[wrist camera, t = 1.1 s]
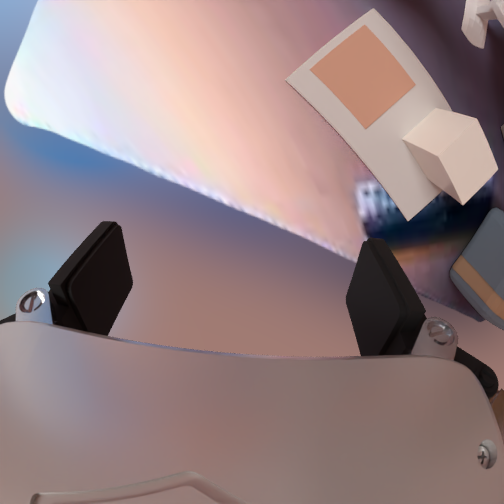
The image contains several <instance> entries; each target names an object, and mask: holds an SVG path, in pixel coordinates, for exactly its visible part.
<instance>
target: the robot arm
mask: <svg viewBox="0 0 504 504" xmlns="http://www.w3.org/2000/svg"><path fill="white" fill-rule="evenodd" d="M48 284H49V287H50V291H49V292H47V291H46V290H45V289H43V288H35V289H31V290H30V291H27V292H26V293H25V294H23V295H22V296H21V297H20V299H19V300H18V302H17V304H16V314H13V315H11V316H9V317H7V318H5V319H3V320H1V321H0V504H504V390H503V389H501V390H500V391H498V379H497V376H496V374H495V373H494V371H493V370H492V369H491V368H490V367H488V366H487V365H486V364H484V363H482V362H481V361H479V360H478V359H476V358H475V357H473V356H472V355H470V354H468V353H467V352H465V351H464V350H462V349H460V348H459V347H457V344H458V336H457V332H456V331H455V329H454V328H453V327H452V325H451V324H449V323H448V322H447V321H445V320H443V319H441V318H437V317H431V318H428V319H427V318H426V316H425V315H424V313H425V312H426V310H425V308H424V306H423V304H422V303H421V301H420V299H419V297H418V295H417V294H416V292H415V290H414V288H413V286H412V285H411V283H410V281H409V280H408V278H407V276H406V274H405V273H404V271H403V269H402V268H401V266H400V265H399V263H398V261H397V260H396V258H395V256H394V255H393V253H392V252H391V250H390V249H389V247H388V245H387V244H386V242H385V241H384V240H383V239H377V238H369V239H368V240H367V241H364V242H363V244H362V247H361V250H360V254H359V257H358V261H357V264H356V267H355V270H354V273H353V277H352V280H351V283H350V286H349V289H348V292H347V295H346V304H347V308H348V311H349V315H350V318H351V321H352V325H353V328H354V332H355V336H356V339H357V343H358V347H359V350H360V354H361V356H350V357H294V356H268V355H249V354H235V353H223V352H213V351H202V350H194V349H186V348H178V347H170V346H162V345H156V344H150V343H143V342H137V341H131V340H125V339H120V338H114V337H110V336H108V334H109V332H110V329H111V328H112V326H113V323H114V322H115V320H116V318H117V316H118V313H119V312H120V310H121V308H122V306H123V304H124V302H125V300H126V298H127V296H128V294H129V292H130V291H131V288H132V285H133V280H132V275H131V271H130V267H129V262H128V258H127V253H126V249H125V244H124V239H123V234H122V229H121V226H119V225H118V224H117V223H116V222H110V221H103V222H101V223H100V224H99V225H98V226H97V227H96V229H94V230H93V232H92V233H91V234H90V235H89V236H88V237H87V238H86V239H85V240H84V241H83V242H82V244H81V245H80V246H79V247H78V248H77V249H76V250H75V251H74V253H73V254H72V255H71V256H70V257H69V258H68V259H67V261H66V262H65V263H64V264H63V265H62V267H61V268H60V269H59V270H58V271H57V273H56V274H55V275H54V277H52V279H51V280H50V281H49V283H48Z"/></svg>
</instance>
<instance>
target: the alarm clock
mask: <svg viewBox="0 0 504 504" xmlns="http://www.w3.org/2000/svg"><path fill="white" fill-rule="evenodd" d="M450 278H451V280H452V281H453V283H454V284H455V285H456V287H457V288H458V290H459V291H460V292H461V293H462V295H463V296H464V297H465V298H466V300H467V301H468V302H469V303H470V304H471V306H472V307H473V308H474V309H475V310H476V311H477V313H478V314H479V315H480V316H481V317H483V318H484V319H486V320H487V321H489V322H490V323H492V324H493V325H495V326H497V327H498V328H500V329H502V330H504V212H503V211H502V210H500V209H498V208H493V209H491V210H490V211H489V212H488V214H487V216H486V217H485V219H484V220H483V222H482V224H481V225H480V227H479V228H478V230H477V231H476V233H475V235H474V236H473V238H472V239H471V241H470V242H469V243H468V245H467V246H466V248H465V249H464V251H463V252H462V253H461V255H460V256H459V258H458V259H457V260H456V262H455V263H454V264H453V266H452V268H451V270H450Z"/></svg>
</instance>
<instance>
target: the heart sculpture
mask: <svg viewBox="0 0 504 504" xmlns="http://www.w3.org/2000/svg"><path fill="white" fill-rule="evenodd" d="M492 19H498V20H499V22H500V23H501V24H502V26H503V27H504V0H492V1H491V2H490V0H466V6H465V12H464V18H463V23H462V28H461V30H462V31H463V33H464V34H465V36H466V37H467V39H468V40H469V41H470V42H471V44H473V45H474V46H476V47H479V48H483V49H484V44H485V38H486V32H487V25H488V20H492Z"/></svg>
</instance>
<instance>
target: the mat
mask: <svg viewBox="0 0 504 504" xmlns="http://www.w3.org/2000/svg"><path fill="white" fill-rule="evenodd" d="M285 81H286V82H288V83H289V84H290V85H291V86H292V87H293V88H294V89H295V90H296V91H297V92H298V93H299V94H300V95H302V96H303V97H304V98H305V99H306V100H307V101H308V102H309V103H310V104H311V105H312V106H313V107H314V108H315V109H316V110H317V111H318V112H319V113H320V114H321V115H322V116H323V117H324V118H325V120H326V121H327V122H328V123H329V124H330V125H331V126H332V127H333V128H334V129H335V130H336V131H337V132H338V133H339V135H340V136H341V137H342V138H343V139H344V140H345V141H346V142H347V144H348V145H349V146H350V147H351V148H352V149H353V150H354V152H355V153H356V154H357V155H358V156H359V158H360V159H361V160H362V161H363V162H364V164H365V165H366V166H367V167H368V169H369V170H370V171H371V172H372V174H373V175H374V176H375V177H376V179H377V180H378V181H379V182H380V184H381V185H382V186H383V188H384V189H385V190H386V192H387V193H388V194H389V196H390V197H391V199H392V200H393V201H394V203H395V204H396V205H397V207H398V208H399V210H400V211H401V213H402V214H403V215H404V217H405V218H406V220H407V221H409V220H410V219H411V218H413V217H414V216H415V215H416V214H417V213H418V212H419V211H420V210H422V209H423V208H424V207H425V206H426V205H427V204H428V203H429V202H430V201H432V200H433V199H434V198H435V197H436V196H437V195H438V194H439V193H440V192H441V191H442V189H441V188H440V187H438V186H437V185H435V184H434V183H433V182H431V181H430V180H428V179H427V177H426V175H425V174H424V172H423V170H422V169H421V167H420V165H419V164H418V162H417V161H416V159H415V158H414V156H413V155H412V153H411V152H410V150H409V149H408V147H407V146H406V144H405V143H404V141H403V140H402V138H403V137H405V136H406V135H407V134H408V133H409V132H410V131H411V130H412V129H413V128H414V127H416V126H417V125H418V124H419V123H420V122H421V121H422V120H423V119H424V118H425V117H427V116H428V115H429V114H430V113H431V112H432V111H433V110H434V109H435V108H438V109H443V110H447V111H451V112H453V111H452V110H451V108H450V106H449V105H448V103H447V101H446V100H445V98H444V96H443V95H442V93H441V92H440V90H439V88H438V87H437V85H436V84H435V82H434V81H433V79H432V78H431V76H430V75H429V74H428V72H427V71H426V69H425V68H424V67H423V65H422V64H421V62H420V61H419V60H418V58H417V57H416V56H415V55H414V53H413V52H412V51H411V49H410V48H409V47H408V46H407V44H406V43H405V42H404V41H403V40H402V38H401V37H400V36H399V35H398V34H397V33H396V31H395V30H394V29H393V28H392V27H391V26H390V25H389V24H388V23H387V22H386V20H385V19H384V18H383V17H382V16H381V15H380V14H379V13H378V12H377V11H376V10H375V9H374V8H373V9H371V10H370V11H369V12H367V13H366V14H364V15H363V16H362V17H360V18H359V19H358V20H356V21H355V22H354V23H352V24H351V25H350V26H348V27H347V28H346V29H344V30H343V31H342V32H341V33H339V34H338V35H337V36H336V37H334V38H333V39H332V40H331V41H329V42H328V43H327V44H326V45H324V46H323V47H322V48H321V49H320V50H318V51H317V52H316V53H315V54H314V55H313V56H311V57H310V58H309V59H308V60H307V61H306V62H304V63H303V64H302V65H301V66H300V67H299V68H298V69H297V70H295V71H294V72H293V73H292V74H291V75H290V76H289V77H288V78H287V79H286V80H285Z"/></svg>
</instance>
